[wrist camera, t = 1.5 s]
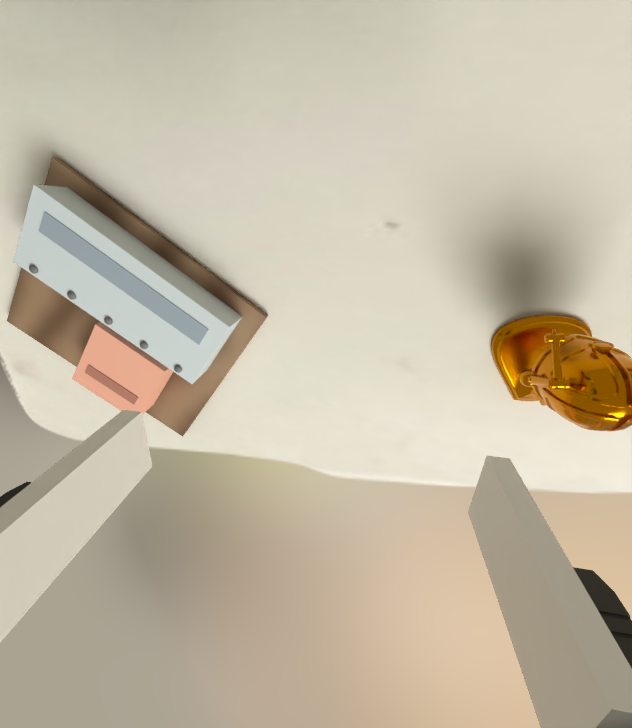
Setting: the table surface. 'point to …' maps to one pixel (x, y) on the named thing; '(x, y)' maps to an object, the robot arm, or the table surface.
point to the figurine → (566, 370)
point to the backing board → (74, 325)
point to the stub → (120, 371)
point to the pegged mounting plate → (122, 282)
